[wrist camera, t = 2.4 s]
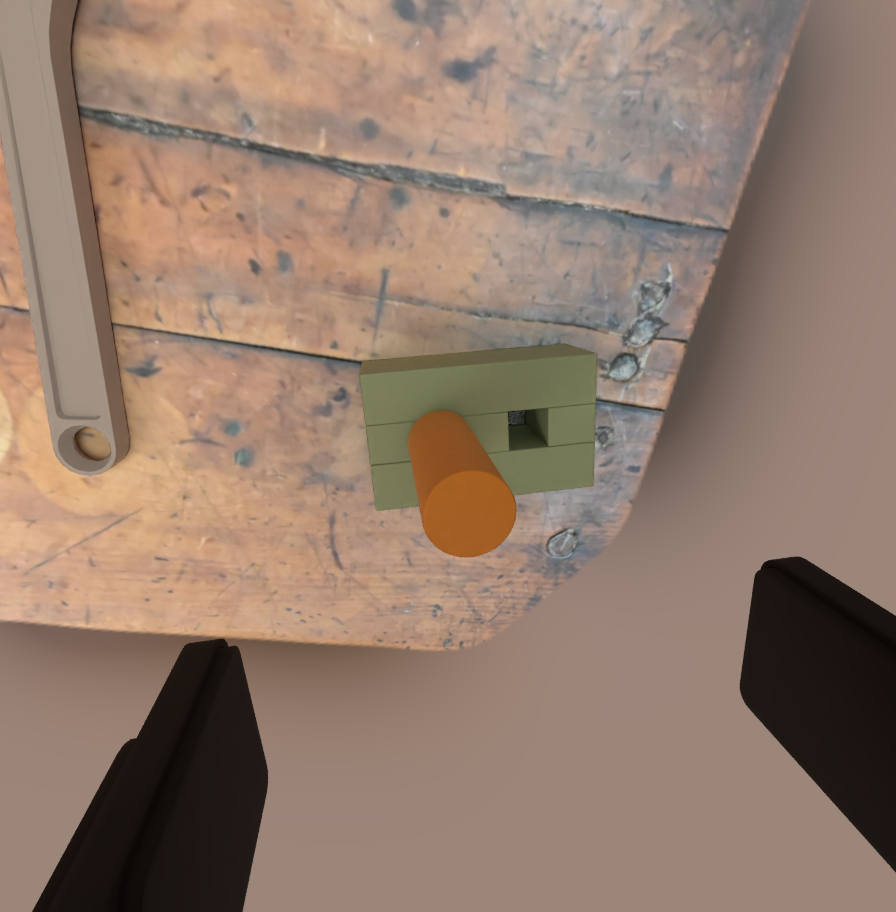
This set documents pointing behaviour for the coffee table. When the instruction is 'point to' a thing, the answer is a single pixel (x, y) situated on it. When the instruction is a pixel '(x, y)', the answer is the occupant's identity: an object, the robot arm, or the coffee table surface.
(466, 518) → the orange handle
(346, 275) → the coffee table surface
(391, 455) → the holder
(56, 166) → the adjustable wrench
